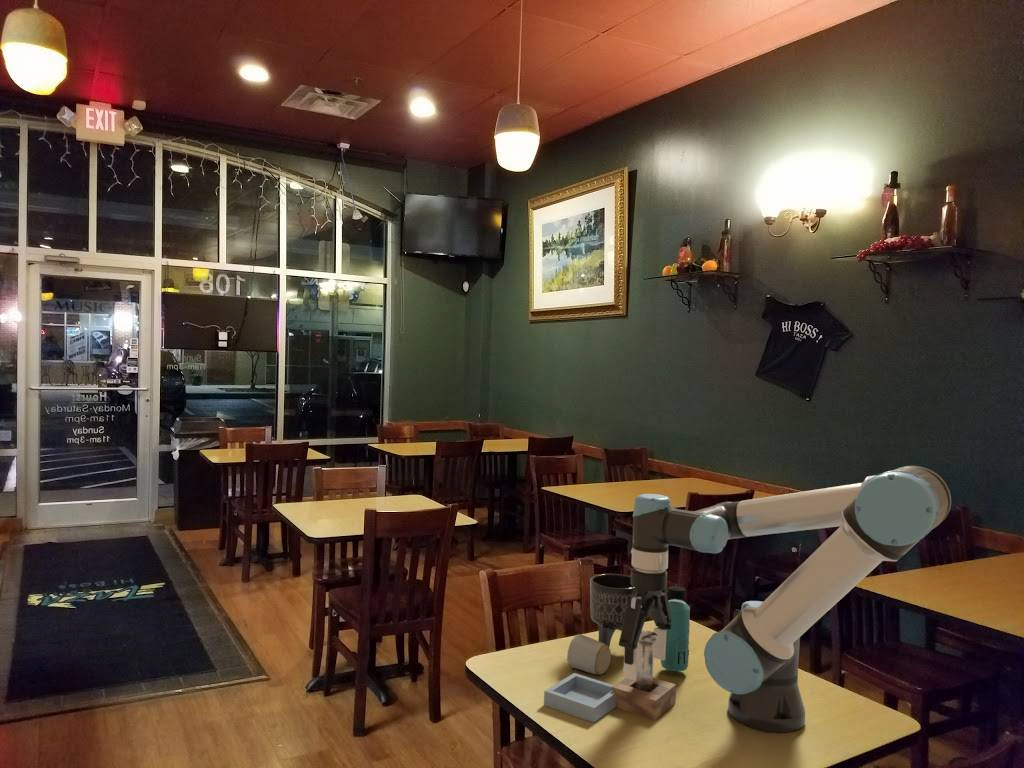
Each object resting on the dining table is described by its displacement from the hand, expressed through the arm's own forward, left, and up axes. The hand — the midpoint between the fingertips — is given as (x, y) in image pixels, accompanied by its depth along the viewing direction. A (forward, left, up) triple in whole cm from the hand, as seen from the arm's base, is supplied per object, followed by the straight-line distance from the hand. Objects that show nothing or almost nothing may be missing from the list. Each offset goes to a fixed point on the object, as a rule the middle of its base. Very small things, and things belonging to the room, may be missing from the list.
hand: (644, 668), depth 162 cm
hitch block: (0, 0, -8) cm, 8 cm away
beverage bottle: (+2, -20, -8) cm, 22 cm away
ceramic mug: (+18, -9, -8) cm, 22 cm away
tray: (+10, +8, -8) cm, 15 cm away
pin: (0, 0, -8) cm, 8 cm away
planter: (+19, -22, -8) cm, 30 cm away
